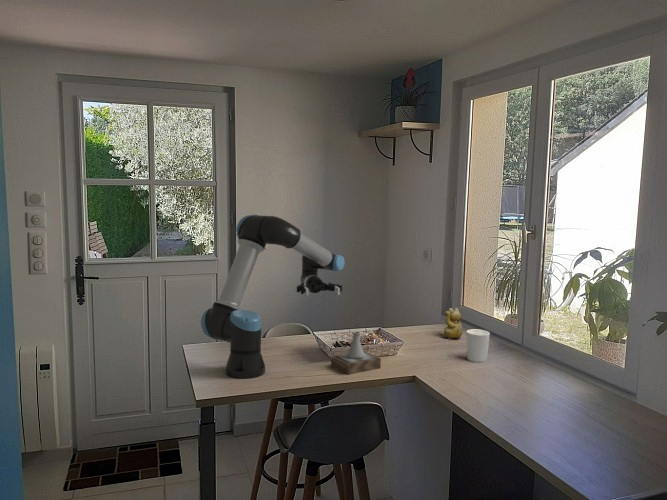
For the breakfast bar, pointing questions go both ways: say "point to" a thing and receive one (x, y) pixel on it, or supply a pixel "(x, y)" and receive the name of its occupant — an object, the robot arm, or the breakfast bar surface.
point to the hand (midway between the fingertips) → (323, 292)
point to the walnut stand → (355, 363)
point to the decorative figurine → (453, 324)
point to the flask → (356, 347)
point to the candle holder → (477, 345)
